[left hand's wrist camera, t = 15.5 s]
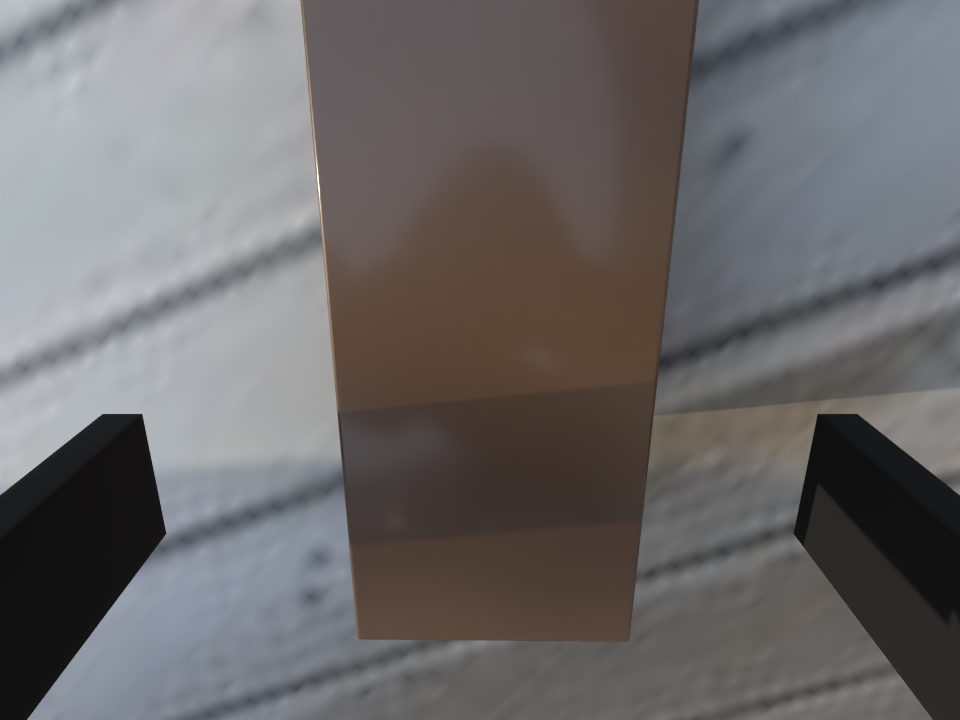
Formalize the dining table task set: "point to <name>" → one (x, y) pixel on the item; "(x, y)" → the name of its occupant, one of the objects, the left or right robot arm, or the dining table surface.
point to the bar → (496, 299)
